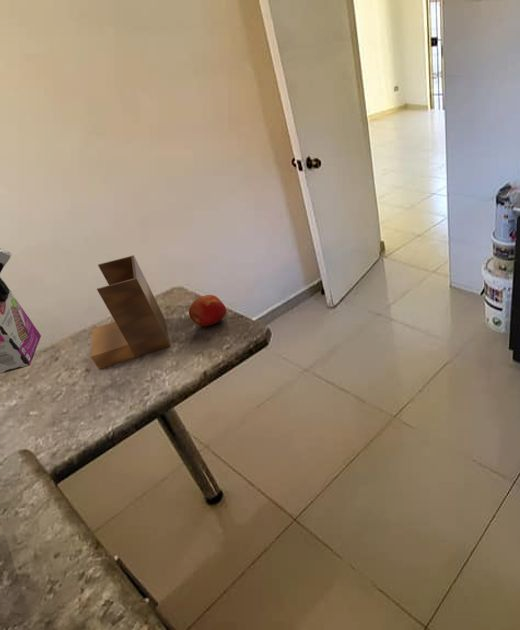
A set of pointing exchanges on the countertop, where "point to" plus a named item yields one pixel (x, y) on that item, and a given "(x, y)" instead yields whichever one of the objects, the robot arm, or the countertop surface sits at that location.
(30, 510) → the countertop surface
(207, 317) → the apple
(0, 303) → the candy bar box
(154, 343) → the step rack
